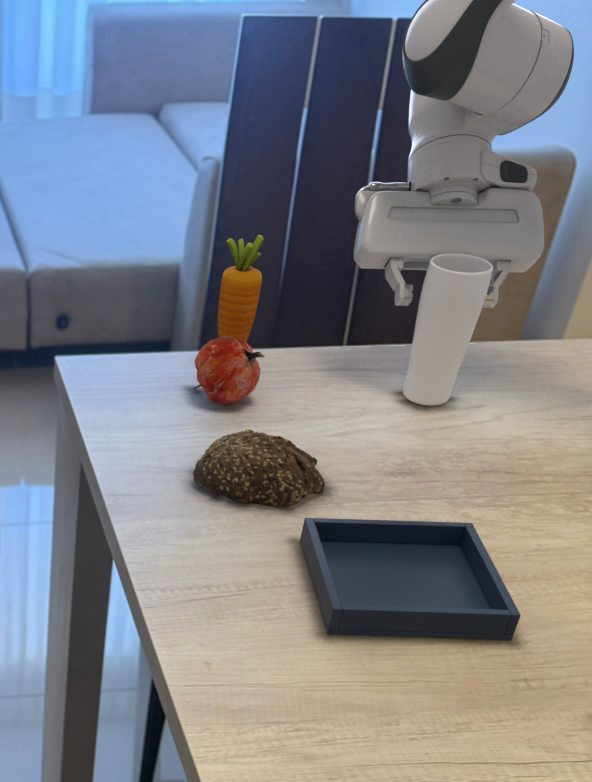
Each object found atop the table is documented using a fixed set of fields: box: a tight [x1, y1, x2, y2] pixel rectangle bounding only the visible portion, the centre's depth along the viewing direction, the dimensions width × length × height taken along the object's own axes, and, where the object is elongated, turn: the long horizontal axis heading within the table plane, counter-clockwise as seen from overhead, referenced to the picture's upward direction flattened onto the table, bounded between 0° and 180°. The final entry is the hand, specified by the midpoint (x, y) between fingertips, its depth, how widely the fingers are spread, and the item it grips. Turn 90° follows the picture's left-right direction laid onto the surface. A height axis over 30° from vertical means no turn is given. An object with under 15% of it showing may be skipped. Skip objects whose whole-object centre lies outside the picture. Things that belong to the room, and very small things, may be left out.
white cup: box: [402, 254, 493, 407], centre depth 130 cm, size 7×7×15 cm
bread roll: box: [192, 428, 326, 509], centre depth 117 cm, size 13×12×5 cm
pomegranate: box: [193, 336, 265, 406], centre depth 132 cm, size 7×7×10 cm
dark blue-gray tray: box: [299, 517, 521, 642], centre depth 103 cm, size 16×16×3 cm
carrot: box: [217, 234, 265, 343], centre depth 136 cm, size 5×5×15 cm
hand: (445, 304), depth 129 cm, fingers open, 8 cm apart
